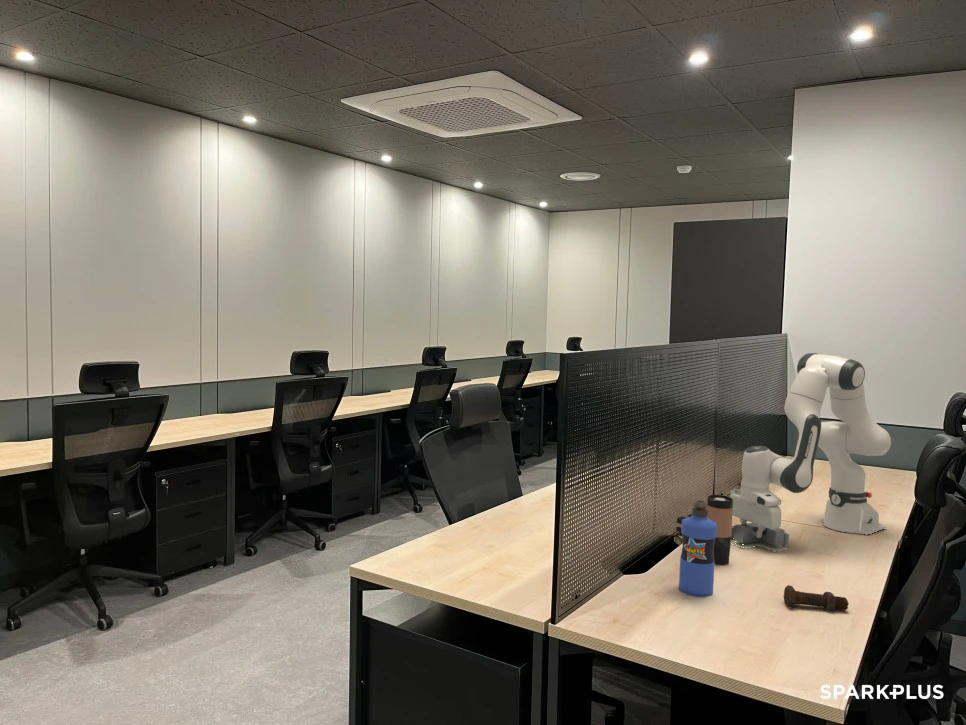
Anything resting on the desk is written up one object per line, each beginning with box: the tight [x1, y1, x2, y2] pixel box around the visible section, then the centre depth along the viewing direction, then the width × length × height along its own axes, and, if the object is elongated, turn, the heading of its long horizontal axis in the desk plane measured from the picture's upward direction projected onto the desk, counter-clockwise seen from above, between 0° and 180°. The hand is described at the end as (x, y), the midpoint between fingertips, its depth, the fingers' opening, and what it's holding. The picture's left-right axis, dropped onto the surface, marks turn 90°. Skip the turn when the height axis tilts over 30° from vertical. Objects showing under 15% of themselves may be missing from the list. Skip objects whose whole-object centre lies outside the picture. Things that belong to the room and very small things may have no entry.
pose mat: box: [731, 540, 789, 553], centre depth 230 cm, size 14×12×1 cm
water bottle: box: [678, 500, 717, 598], centre depth 189 cm, size 9×9×25 cm
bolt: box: [783, 584, 849, 612], centre depth 181 cm, size 6×5×15 cm
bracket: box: [733, 522, 786, 546], centre depth 230 cm, size 10×12×5 cm
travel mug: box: [706, 494, 733, 566], centre depth 214 cm, size 8×8×20 cm
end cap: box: [675, 513, 693, 538], centre depth 240 cm, size 10×7×7 cm
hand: (751, 534), depth 232 cm, fingers closed on bracket, 4 cm apart
